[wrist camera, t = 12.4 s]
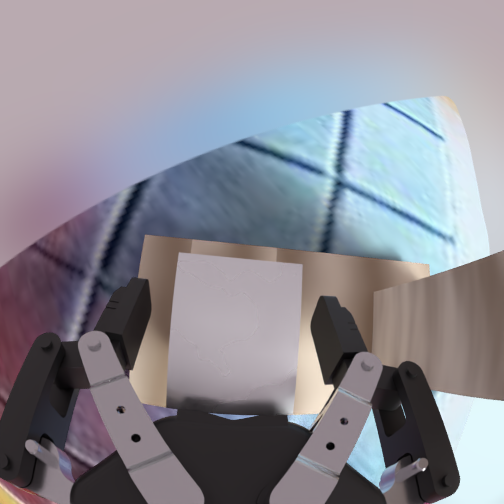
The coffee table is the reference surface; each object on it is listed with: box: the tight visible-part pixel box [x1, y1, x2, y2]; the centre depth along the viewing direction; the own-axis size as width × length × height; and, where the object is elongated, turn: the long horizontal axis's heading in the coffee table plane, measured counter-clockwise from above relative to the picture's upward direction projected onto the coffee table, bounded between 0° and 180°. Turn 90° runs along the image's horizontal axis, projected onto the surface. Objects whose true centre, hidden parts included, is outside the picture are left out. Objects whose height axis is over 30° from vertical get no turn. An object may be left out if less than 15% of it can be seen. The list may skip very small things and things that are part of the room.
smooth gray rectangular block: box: [166, 252, 303, 415], centre depth 13 cm, size 4×5×11 cm
